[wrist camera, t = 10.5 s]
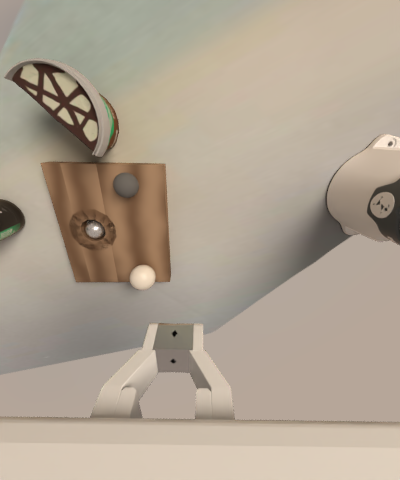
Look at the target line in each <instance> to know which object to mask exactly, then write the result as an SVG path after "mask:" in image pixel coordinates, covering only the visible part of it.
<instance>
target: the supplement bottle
mask: <svg viewBox="0 0 400 480" xmlns="http://www.w3.org/2000/svg"><path fill="white" fill-rule="evenodd" d="M24 223H25V219H24V216H23V213H22V212H21V210H20V209H19V208H18V207H17V206H16V205H14V204H13V203H11V202H9V201H6V200H3V199H0V241H1V240H3V239H5V238H7V237H9V236H11V235H13V234H15V233H16V232H18V231H20V230H21V229H22V228H23V226H24Z"/></svg>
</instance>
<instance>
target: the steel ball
mask: <svg viewBox="0 0 400 480" xmlns="http://www.w3.org/2000/svg"><path fill="white" fill-rule="evenodd" d="M85 231H86V233H87V235H88V236H89V237H91V238H100V237H102V236H103V235H104V233H105V228H104V227H103V225H102V224H101V223H100V222H98V221H96V220H93V221H90V222H88V223H87V225H86V227H85Z"/></svg>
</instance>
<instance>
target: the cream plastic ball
mask: <svg viewBox="0 0 400 480" xmlns="http://www.w3.org/2000/svg"><path fill="white" fill-rule="evenodd" d="M155 278H156V275H155V272H154V270H153V269H152V268H151V267H150V266H148V265H139V266H137V267H135V268H134V269H133V270H132V272H131V274H130V282H131V285H132V286H133V287H134V288H136V289H138V290H146V289H149V288H150V287H151V286H152V285H153V284H154V282H155Z"/></svg>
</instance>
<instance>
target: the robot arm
mask: <svg viewBox="0 0 400 480" xmlns="http://www.w3.org/2000/svg"><path fill="white" fill-rule="evenodd" d="M389 142H390V143H389ZM388 143H389V145H388ZM327 206H328V209H329V212H330V213H331V215H332V216H333V217H334V218H335V219H336V220H337V221H338V222H339V223H340V224H341V226H342V229H343V231H344V233H345V234H348V235H356V234H362V235H364V236H366V237H368V238H370V239H373V240H375V241H378V242H383V241H389V240H391V241H392V242H394V243H396V244H398V245H400V138H399V137H395V136H392V135H386V134H383V135H380V136H378V137H377V138H376V139H375V140H374V141H373V142H372V143H371V144H370V145H369V146H368V147H367V148H366V149H365V150H364V151H362V152H361V153H359V154H357V155H355V156H354V157H352V158H351V159H350V160H348V161H347V162H346V163H345V164H344V165H343V166H342V167H341V168H340V169H339V170H338V172H337V173H336V174H335V176H334V177H333V179H332V181H331V183H330V186H329V189H328V193H327ZM158 372H186V373H190V375H191V377H192V379H193V381H194V383H195V385H196V387H197V389H198V390H197V391H196V411H195V419H144V418H142V414H141V410H140V405H139V400H140V398H141V397H142V396H143V394H144V393H145V391H146V390H147V389H148V387H149V386H150V384H151V383H152V381H153V380H154V379H155V377H156V376H157V374H158ZM0 480H400V422H364V421H363V422H362V421H357V422H356V421H288V420H287V421H286V420H285V421H284V420H235V418H234V409H233V401H232V392H231V387H230V386H229V384H228V383H227V381H226V380H225V379H224V377H223V375H222V374H221V373H220V371H219V369H218V368H217V367H216V365H215V364H214V362H213V361H212V359H211V358H210V356H209V355H208V353H207V352H206V350H205V351H204V350H203V324H167V323H150V324H149V326H148V329H147V333H146V336H145V340H144V343H143V347H142V350H138V351H137V352H136V353H135V354H134V355H133V356H132V357H131V358H130V359H129V360H128V361H127V362H126V363H125V364H124V365H123V366H122V367H121V368H120V369H119V370H118V371H117V372H116V373H115V374H114V375H113V376H112V377H111V378H110V379H109V380H108V381H107V382H106V383H105V384H104V385H103V387H102V389H101V392H100V394H99V396H98V399H97V401H96V404H95V406H94V409H93V411H92V414H91V416H90V418H68V417H64V418H63V417H0Z"/></svg>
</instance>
